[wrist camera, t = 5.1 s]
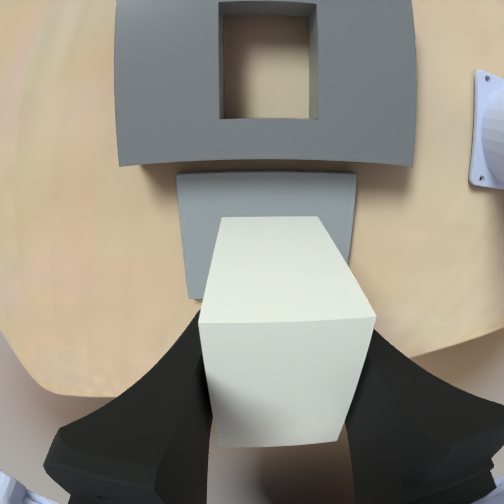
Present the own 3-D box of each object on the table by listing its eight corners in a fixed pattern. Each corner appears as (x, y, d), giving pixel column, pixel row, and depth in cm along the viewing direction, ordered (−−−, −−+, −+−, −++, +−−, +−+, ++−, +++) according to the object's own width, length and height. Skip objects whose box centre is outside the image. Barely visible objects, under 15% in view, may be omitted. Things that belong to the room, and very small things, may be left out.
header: (392, 3, 12) (410, -9, 10) (393, 158, 17) (412, 166, 14) (133, 0, 12) (117, -13, 10) (136, 158, 17) (119, 166, 14)
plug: (317, 216, 13) (376, 316, 7) (308, 321, 15) (336, 440, 9) (221, 217, 13) (197, 322, 7) (228, 323, 15) (219, 446, 9)
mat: (353, 172, 17) (357, 174, 16) (340, 292, 20) (342, 297, 20) (178, 172, 17) (176, 174, 17) (190, 293, 20) (188, 298, 20)
